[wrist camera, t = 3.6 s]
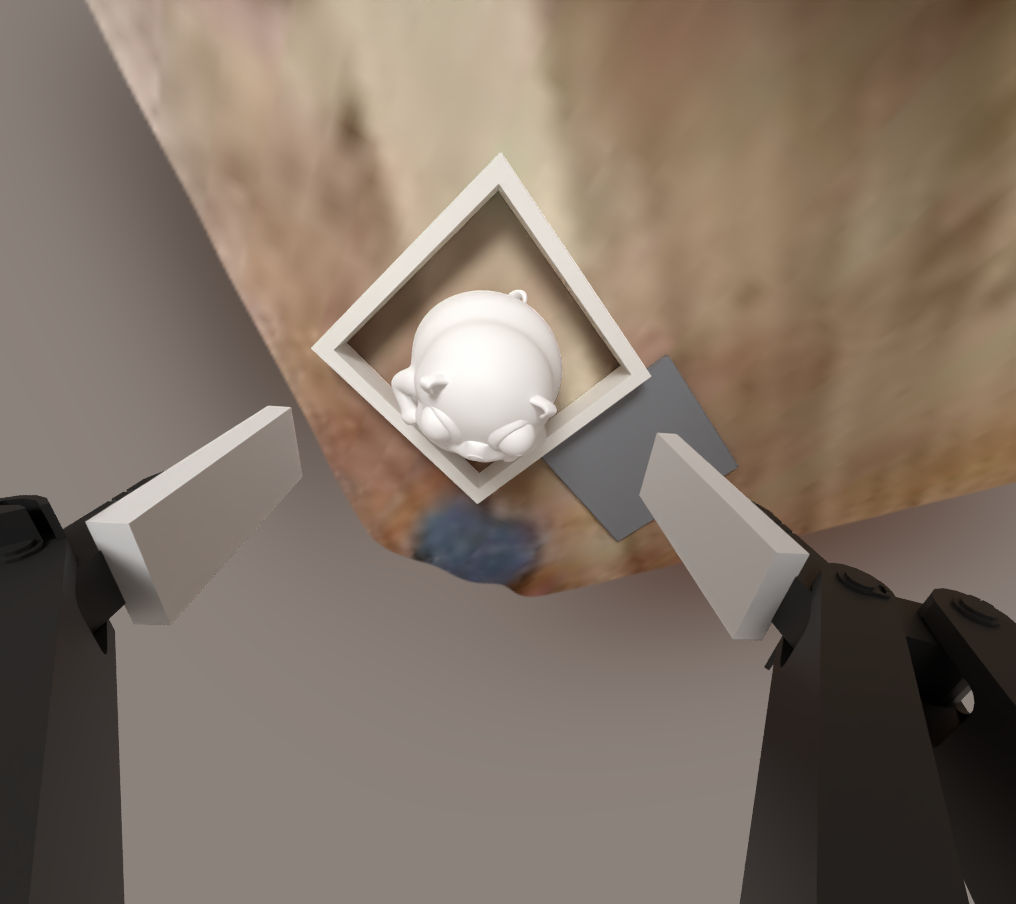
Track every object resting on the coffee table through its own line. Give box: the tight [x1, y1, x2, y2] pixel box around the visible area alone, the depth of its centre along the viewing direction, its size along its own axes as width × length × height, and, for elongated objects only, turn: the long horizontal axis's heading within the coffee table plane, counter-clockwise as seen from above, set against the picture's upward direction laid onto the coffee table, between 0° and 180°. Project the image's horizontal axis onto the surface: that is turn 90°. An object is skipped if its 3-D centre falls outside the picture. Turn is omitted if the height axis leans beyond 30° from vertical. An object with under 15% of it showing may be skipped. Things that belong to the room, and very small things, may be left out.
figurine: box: [392, 290, 562, 462], centre depth 22 cm, size 10×10×12 cm
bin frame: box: [311, 152, 651, 504], centre depth 27 cm, size 16×16×2 cm
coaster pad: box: [542, 355, 739, 541], centre depth 32 cm, size 12×12×1 cm
